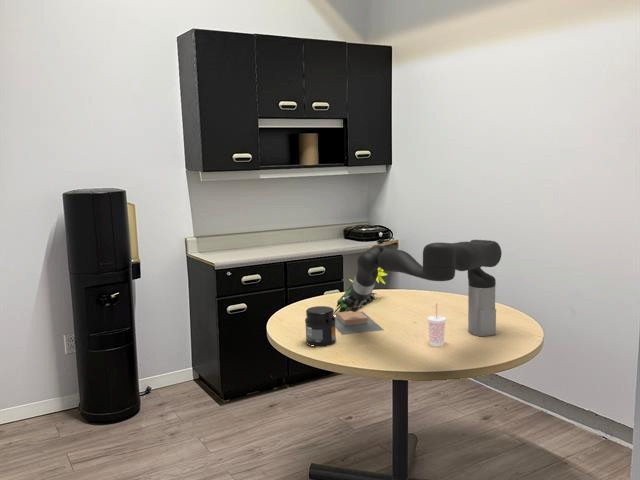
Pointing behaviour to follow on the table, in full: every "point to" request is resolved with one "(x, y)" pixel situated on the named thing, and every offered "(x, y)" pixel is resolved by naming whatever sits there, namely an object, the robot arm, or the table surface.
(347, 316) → the tile
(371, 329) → the felt mat
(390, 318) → the table surface
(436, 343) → the beverage cup
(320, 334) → the supplement container
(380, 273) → the daffodil flowers
